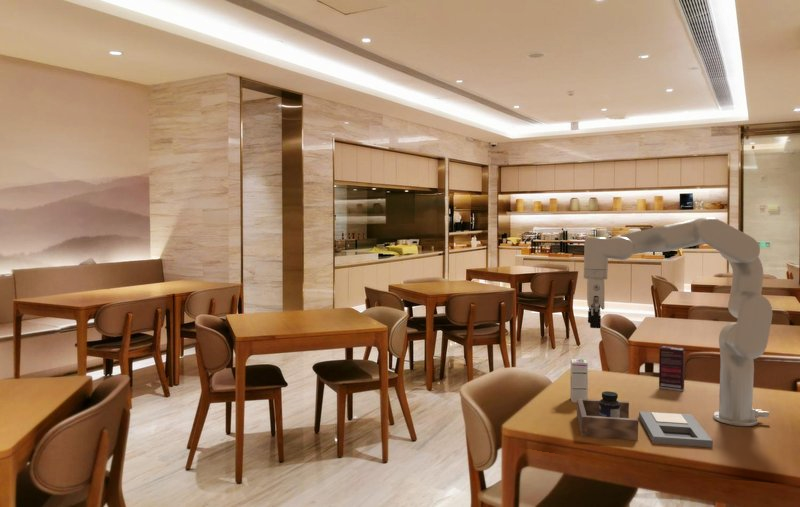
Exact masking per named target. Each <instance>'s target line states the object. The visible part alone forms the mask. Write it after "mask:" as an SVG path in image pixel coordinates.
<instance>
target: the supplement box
mask: <svg viewBox="0 0 800 507" xmlns="http://www.w3.org/2000/svg"><path fill="white" fill-rule="evenodd" d="M685 350H686V349H685V347H675V346H665V345H662V346H660V347H659V358H658V359H659V360H658V361H659V362H658V364H659V367H658V373H659V374H658V388H659V389H660V388H661V389H660V390H667V389H668V390H669V391H675V392H683V391H684V390H685V369H686V368H685V364H686V362H685V361H686V360H685V357H686V356H685V354H686V351H685Z"/></svg>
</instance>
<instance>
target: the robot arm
mask: <svg viewBox="0 0 800 507" xmlns="http://www.w3.org/2000/svg"><path fill="white" fill-rule="evenodd" d="M700 245H708V246H709V247H711V248H713V249H715V251H718V252H719V254H720V255H721V257H722V258H724V259H725V260H726V261H727V262H728V263H729V264H730V266H731V270H732V280H731V285H730V286H731V288H730V293H729V297H728V302H727V303H728V304H727V308H728V309H727V310H728V312H729V313H730V315H732V317H734V318H736V322H730V323H728V324H726V325H724V326H723V327H722V328H721V330H720V332H719V336H718V345H719V355H720V366H719V367H720V370H719V396H718V411H715V412H714V413H713V419H714V420H715V421H718V422H719V423H722V424H723V423H724V424H727V425H731V426H736V427H737V426H738V427H751V426H756V425H758V422H759V421H758V418H767V419H768V418H770V412H769V411H763V410H762V409H755V408H754V407H753V402H754V401H753V400H754V374H755V366H754V365H755V362H754V359H758V358H759V357H761V356H763V354H764V353H765V352H766V349H767V346H768V342H769V338H770V337H769V336H770V332H771V326H772V322H773V321H772V319H773V307H772V304H771V302H770V300H769V299H768V298H767V297H766V296H764V295H762V292H763V282H764V268H763V264H762V262H761V259H760V257H759V256H760V253H761V246H760V244H759V242H758V241H757V240H756V239H755V238H754V237H753V236H750V235H749V234H747V233H745V232H743V231H742V230H739V229H737V228H735V227H734V226H731V225H730V224H729V223H727V222H724V221H723V220H720V219H718V218H715V217H709V216H708V217H706V216H705V217H697V218H693V219H689V220H688V219H687V220H682V221H678V222H674V223H670V224H664V225H661V226H655V227H650V228H647V229H643V230H639V231H633V232H628V233H623V234H618V235H615V236H612V237H609V238H608V237H607V238H606V237H604V236H588V237H586V238H585V239H584V252H583V254H584V256H583V279H585V280H586V302H587V307H588V311H587V323H588V324H589V328H591V329H600V328H601V326H602V325H601V324H602V323H601V322H602V316H601V310H605V280H608V272H609V271H608V270H609V269H608V268H609V259H611V260H617V261H619V260H620V261H625V260H628V259H630V258H631V257H632V256H633V255H638V254H644V253H664V252H671V251H675V250H676V251H677V250H680V249H681V250H682V249H685V248H690V247H695V246H700Z"/></svg>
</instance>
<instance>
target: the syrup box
mask: <svg viewBox="0 0 800 507" xmlns="http://www.w3.org/2000/svg"><path fill="white" fill-rule="evenodd" d="M587 361H588V360H586V359H584V358H583V359H582V358H570V402H571V403H576V404H577V399H588V398H589V390H588V389H589V386H588V385H589V383H588V382H589V375H588V373H589V371H588V369H589V366H588V362H587Z"/></svg>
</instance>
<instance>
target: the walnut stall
mask: <svg viewBox="0 0 800 507" xmlns="http://www.w3.org/2000/svg"><path fill="white" fill-rule="evenodd" d="M600 400H601V399H594V398H593V399H592V398H591V399H590V398H589V399H577V403H576V419H577V423H578V427H579V428H578V429H579V431H580V435H581V437H584V438H599V439H600V438H601V439H611V440H613V439H614V440H625V441H627V440H629V441H638V440H639V420H638V418H632V417H630V418H629V416H630V415H629V411H630V410H629V409H630V402H629V400H627V401H623V400H617V401H618V402H619V403H620V416H619V418H616V417H601V416H599V402H600Z"/></svg>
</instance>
